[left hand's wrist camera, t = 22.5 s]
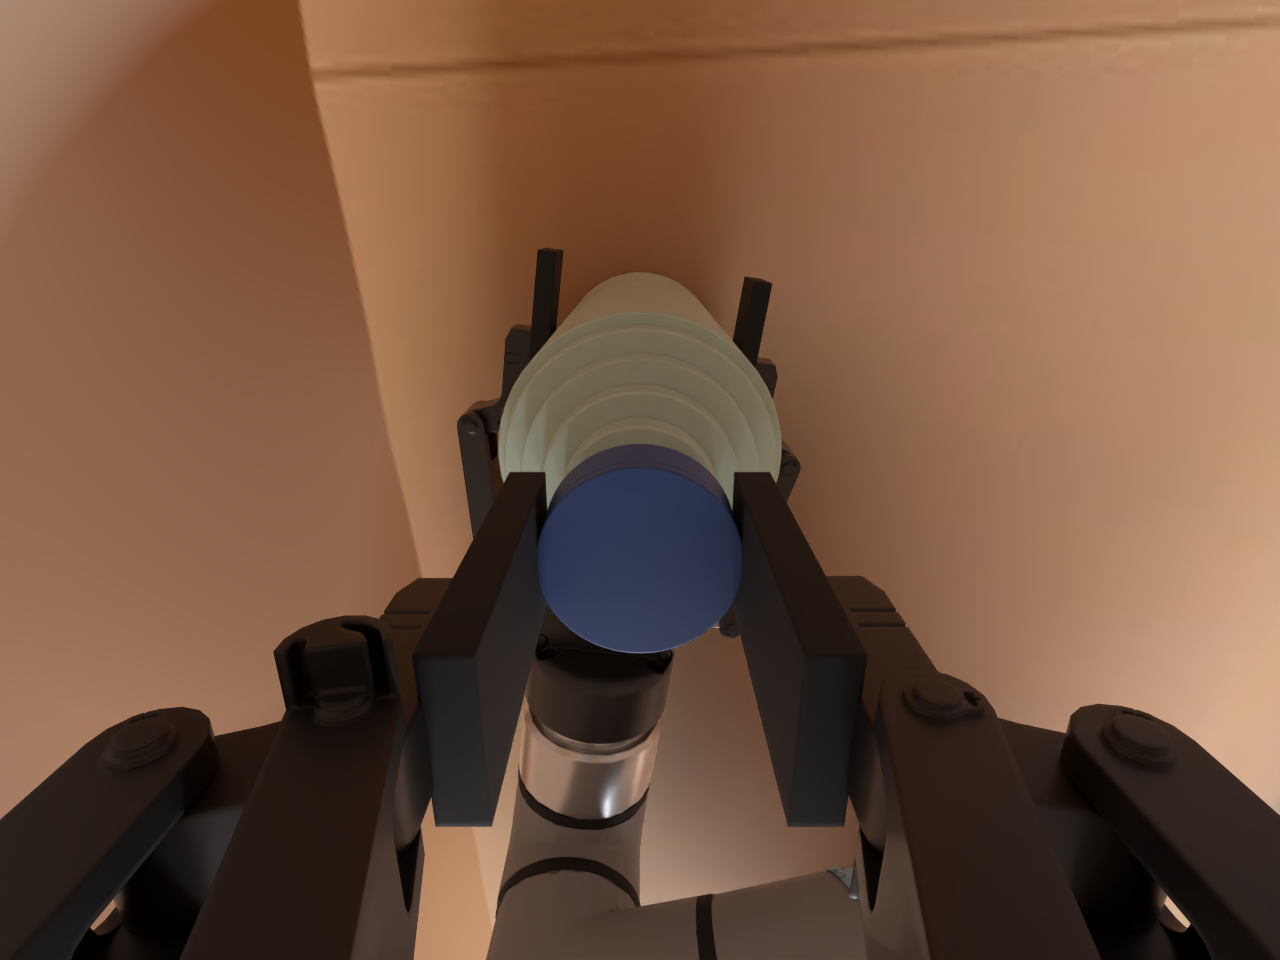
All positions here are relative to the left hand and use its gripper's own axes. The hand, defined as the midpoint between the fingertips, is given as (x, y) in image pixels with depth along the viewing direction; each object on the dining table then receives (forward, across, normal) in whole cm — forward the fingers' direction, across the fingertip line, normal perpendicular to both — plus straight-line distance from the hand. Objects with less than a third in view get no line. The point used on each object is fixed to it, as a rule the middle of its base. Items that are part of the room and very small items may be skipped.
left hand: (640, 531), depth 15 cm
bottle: (+23, 0, 0) cm, 23 cm away
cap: (-1, 0, 0) cm, 1 cm away
